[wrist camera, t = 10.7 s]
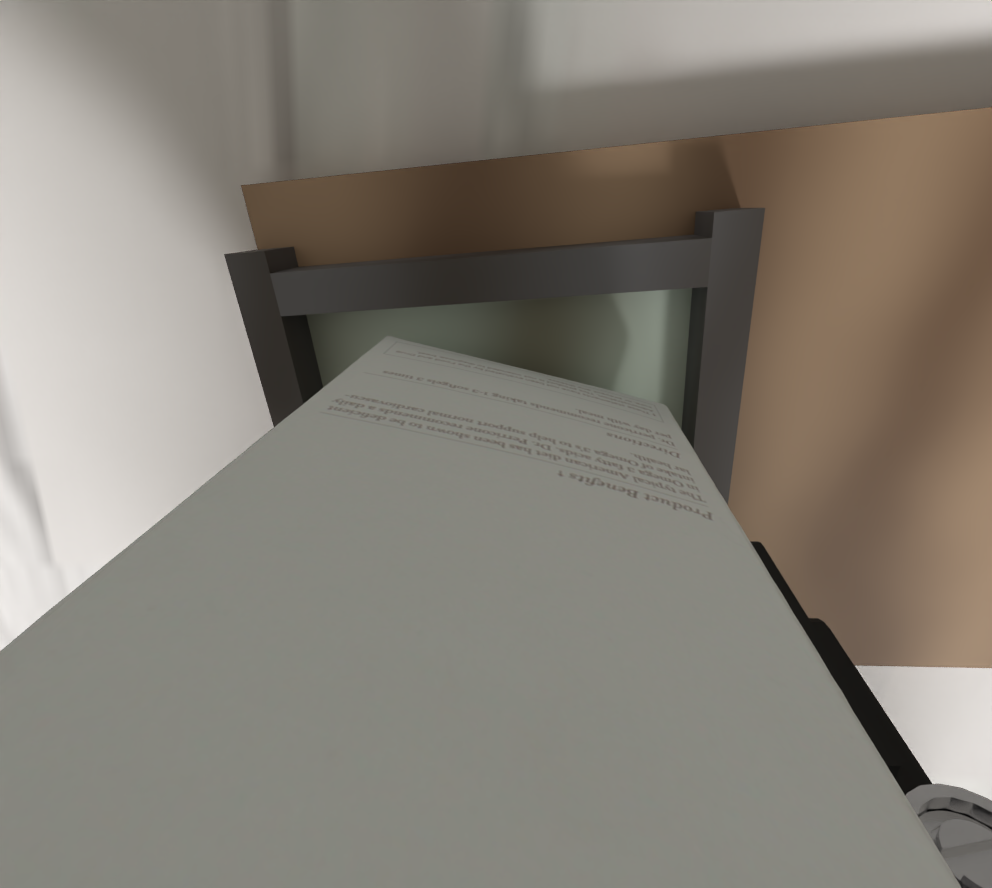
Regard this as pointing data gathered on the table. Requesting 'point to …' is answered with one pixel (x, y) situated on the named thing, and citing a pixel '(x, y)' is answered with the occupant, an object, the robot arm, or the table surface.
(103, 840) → the supplement box
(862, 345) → the board
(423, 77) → the table surface
